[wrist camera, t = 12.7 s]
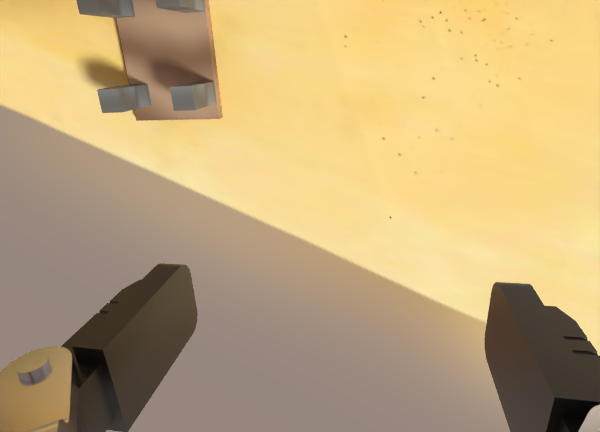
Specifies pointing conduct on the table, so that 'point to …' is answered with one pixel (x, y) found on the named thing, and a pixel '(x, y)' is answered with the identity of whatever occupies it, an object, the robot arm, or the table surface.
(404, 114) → the table surface
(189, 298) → the robot arm
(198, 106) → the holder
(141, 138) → the table surface
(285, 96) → the table surface
